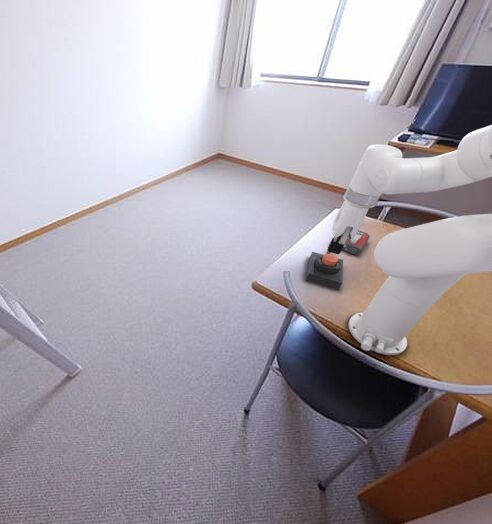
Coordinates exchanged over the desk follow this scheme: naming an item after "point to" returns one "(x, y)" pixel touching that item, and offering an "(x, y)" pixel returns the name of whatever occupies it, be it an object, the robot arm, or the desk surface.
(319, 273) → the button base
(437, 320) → the desk surface
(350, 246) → the walkie-talkie
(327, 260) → the pump button
